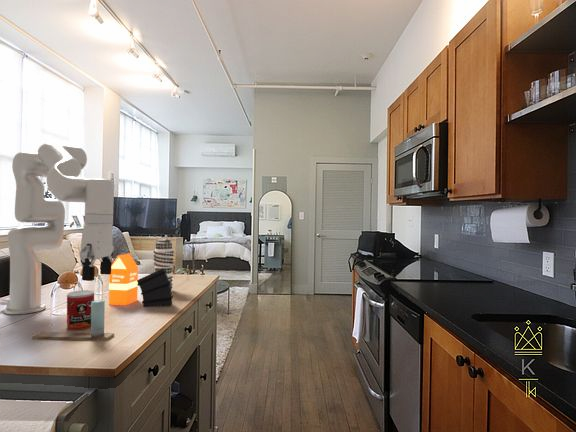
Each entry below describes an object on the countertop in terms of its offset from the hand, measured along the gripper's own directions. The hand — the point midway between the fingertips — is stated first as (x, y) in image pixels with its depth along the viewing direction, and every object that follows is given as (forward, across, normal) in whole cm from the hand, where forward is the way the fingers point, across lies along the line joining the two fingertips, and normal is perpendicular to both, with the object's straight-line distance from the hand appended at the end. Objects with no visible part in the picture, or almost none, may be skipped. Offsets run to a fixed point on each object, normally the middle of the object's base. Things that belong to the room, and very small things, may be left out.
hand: (97, 277), depth 107 cm
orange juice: (+19, -42, -11) cm, 48 cm away
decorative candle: (+19, -64, -2) cm, 67 cm away
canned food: (+19, -10, -10) cm, 23 cm away
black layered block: (+19, -37, +4) cm, 42 cm away
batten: (+18, +1, -6) cm, 19 cm away
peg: (+17, 0, +1) cm, 17 cm away
